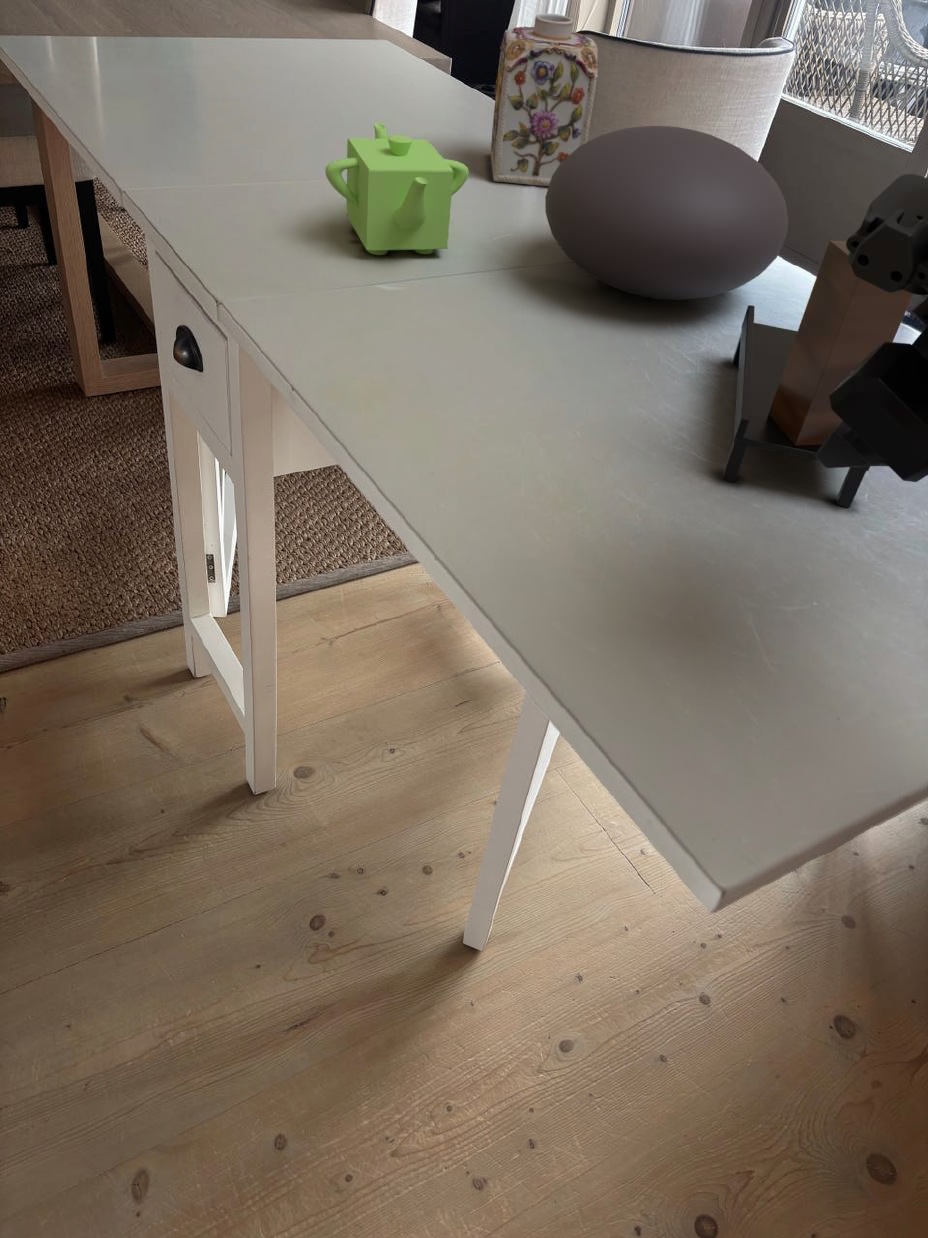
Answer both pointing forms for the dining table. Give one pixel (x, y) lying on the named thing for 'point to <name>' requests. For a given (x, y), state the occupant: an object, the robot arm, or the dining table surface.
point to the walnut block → (832, 345)
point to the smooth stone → (666, 212)
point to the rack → (768, 401)
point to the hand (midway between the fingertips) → (858, 419)
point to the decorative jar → (541, 99)
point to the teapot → (397, 191)
